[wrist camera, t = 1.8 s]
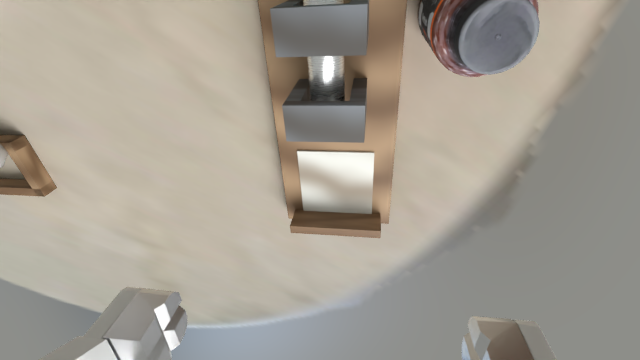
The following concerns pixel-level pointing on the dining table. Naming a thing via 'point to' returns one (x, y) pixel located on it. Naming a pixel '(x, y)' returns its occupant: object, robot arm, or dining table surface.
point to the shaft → (326, 70)
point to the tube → (2, 155)
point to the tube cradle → (25, 169)
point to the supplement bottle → (479, 33)
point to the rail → (375, 117)
